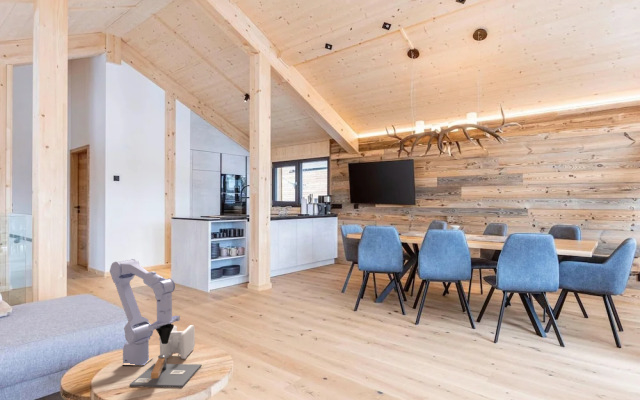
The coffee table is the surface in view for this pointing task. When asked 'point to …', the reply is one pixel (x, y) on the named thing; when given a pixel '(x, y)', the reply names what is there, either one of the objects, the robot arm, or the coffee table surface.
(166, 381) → the panel
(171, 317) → the robot arm
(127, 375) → the coffee table surface
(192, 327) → the white notched block
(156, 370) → the bar
